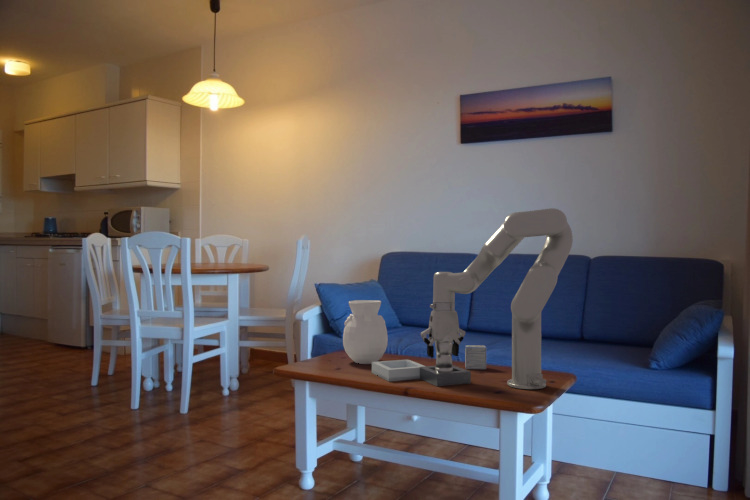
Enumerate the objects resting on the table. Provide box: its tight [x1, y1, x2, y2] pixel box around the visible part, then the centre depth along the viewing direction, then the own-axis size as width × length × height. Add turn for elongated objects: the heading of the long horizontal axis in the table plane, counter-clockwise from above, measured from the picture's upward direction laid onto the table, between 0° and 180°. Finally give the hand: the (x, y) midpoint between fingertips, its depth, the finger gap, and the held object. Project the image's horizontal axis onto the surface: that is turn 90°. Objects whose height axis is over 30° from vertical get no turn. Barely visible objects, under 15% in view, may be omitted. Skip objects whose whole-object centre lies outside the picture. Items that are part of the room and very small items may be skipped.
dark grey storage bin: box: [419, 364, 472, 387], centre depth 202 cm, size 14×13×4 cm
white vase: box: [342, 299, 389, 365], centre depth 237 cm, size 19×18×25 cm
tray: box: [371, 359, 425, 382], centre depth 211 cm, size 16×15×4 cm
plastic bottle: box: [434, 336, 454, 372], centre depth 202 cm, size 6×7×20 cm
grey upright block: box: [464, 344, 487, 370], centre depth 224 cm, size 8×4×9 cm, turn 84°
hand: (442, 356), depth 202 cm, fingers open, 9 cm apart
